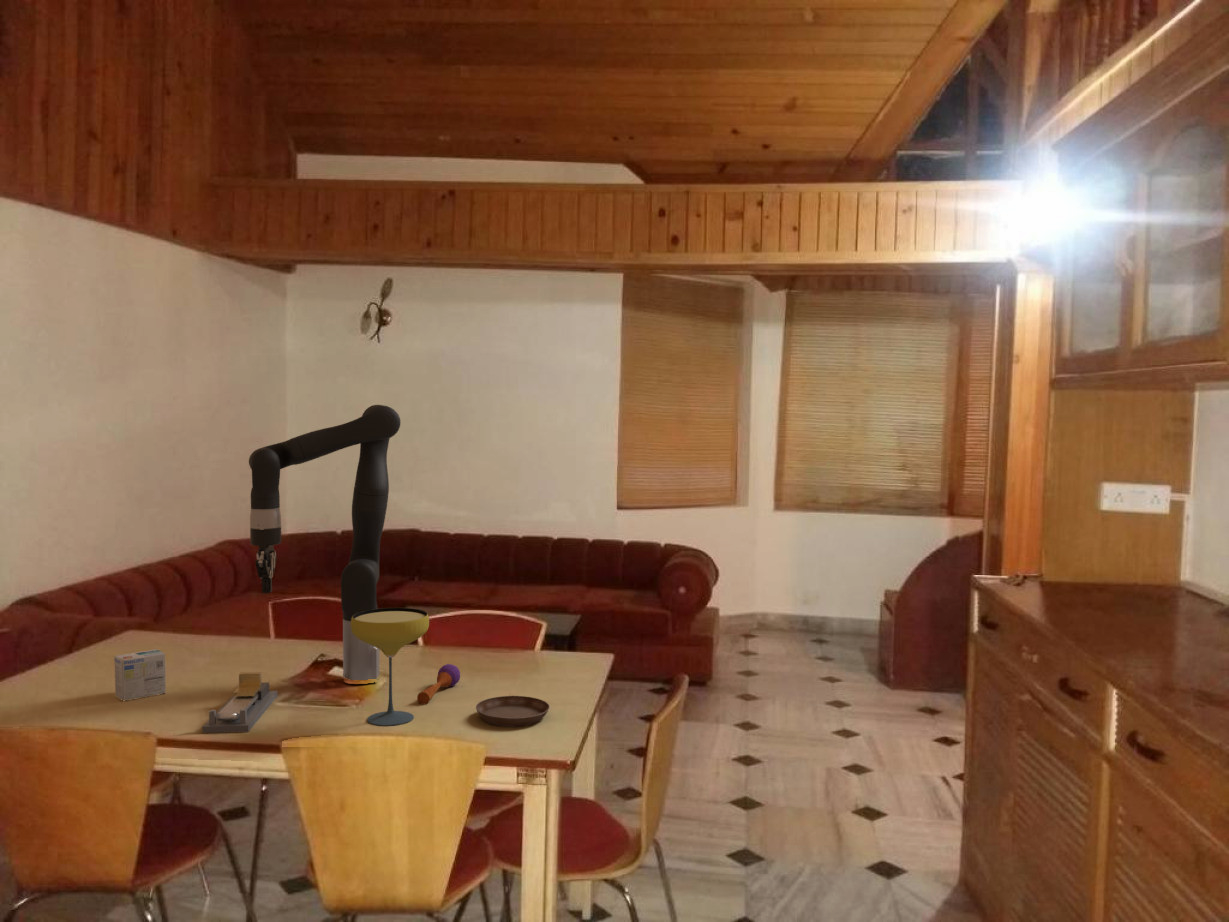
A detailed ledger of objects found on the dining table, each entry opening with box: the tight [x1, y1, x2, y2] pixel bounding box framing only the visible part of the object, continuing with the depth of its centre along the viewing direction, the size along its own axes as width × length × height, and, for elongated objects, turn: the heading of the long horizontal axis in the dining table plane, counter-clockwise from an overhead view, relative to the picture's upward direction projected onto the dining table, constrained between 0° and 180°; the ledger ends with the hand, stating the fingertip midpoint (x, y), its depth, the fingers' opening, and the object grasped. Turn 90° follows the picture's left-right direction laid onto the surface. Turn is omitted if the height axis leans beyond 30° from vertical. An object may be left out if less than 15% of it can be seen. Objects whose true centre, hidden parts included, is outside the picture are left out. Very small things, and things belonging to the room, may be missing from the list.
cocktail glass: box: [351, 607, 430, 727], centre depth 231 cm, size 18×18×25 cm
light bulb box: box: [114, 648, 167, 701], centre depth 249 cm, size 11×7×11 cm, turn 135°
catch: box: [232, 671, 263, 696], centre depth 239 cm, size 7×5×4 cm
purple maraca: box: [416, 663, 461, 705], centre depth 253 cm, size 6×6×20 cm
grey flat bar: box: [217, 694, 258, 721], centre depth 230 cm, size 18×5×2 cm, turn 6°
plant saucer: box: [475, 695, 550, 728], centre depth 233 cm, size 18×18×3 cm
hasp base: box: [202, 681, 278, 734], centre depth 234 cm, size 28×10×4 cm, turn 6°
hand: (267, 592), depth 250 cm, fingers closed
